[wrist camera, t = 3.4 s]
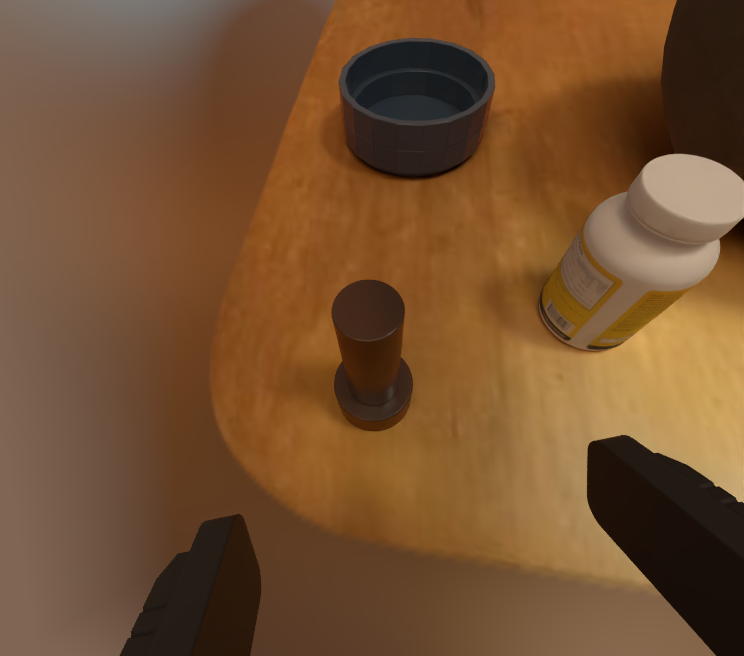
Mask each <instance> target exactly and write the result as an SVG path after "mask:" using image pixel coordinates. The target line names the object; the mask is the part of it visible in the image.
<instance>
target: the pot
mask: <svg viewBox="0 0 744 656" xmlns="http://www.w3.org/2000/svg"><path fill="white" fill-rule="evenodd" d="M661 86H662V94H663V102H664V110H665V117H666V121H667V126H668V130H669V135H670V139H671V144H672V147H673V150H674V153H675V154H687V155H694V156H699V157H703V158H707V159H710V160H712V161H715V162H717V163H720V164H721V165H723V166H725V167H727V168H728V169H730V170H732V171H733V172H734V173H735V174H737V175H738V176H739V177H740V178H741V179H742V180H743V181H744V0H677V2H676V5H675V8H674V11H673V15H672V19H671V22H670V26H669V30H668V34H667V38H666V41H665V45H664V55H663V66H662V76H661Z"/></svg>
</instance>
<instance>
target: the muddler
mask: <svg viewBox="0 0 744 656" xmlns="http://www.w3.org/2000/svg"><path fill="white" fill-rule="evenodd" d="M404 314H405V307H404V303H403V300H402V298H401V296H400V295H399V293H398V292H397V291H396V290H395V289H394V288H393V287H391V286H390V285H388V284H386V283H384V282H381V281H376V280H361V281H357V282H354V283H352V284H350V285H348V286H346V287H345V288H344V289H342V290H341V291H340V292H339V294H338V295H337V296H336V298H335V300H334V302H333V305H332V319H333V323H334V327H335V331H336V335H337V339H338V343H339V348H340V352H341V356H342V360H343V362H342V363H341V364H340V366H339V368H338V370H337V372H336V375H335V380H334V390H335V395H336V397H337V400H338V403H339V406H340V409H341V411H342V413H343V415H344V416H345V417H346V419H347V420H348V421H349V422H350V423H352V424H353V425H355V426H356V427H358V428H361V429H363V430H368V431H381V430H385V429H388V428H390V427H392V426H394V425H395V424H397V423H398V422H399V421H400V420H401V419H402V418H403V417H404V415H405V414H406V412H407V410H408V407H409V404H410V399H411V394H412V388H413V379H412V375H411V372H410V369H409V367H408V365H407V364H406V362H405V361H404V360H403V359H402V358H401V346H402V336H403V325H404Z"/></svg>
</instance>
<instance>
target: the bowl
mask: <svg viewBox="0 0 744 656" xmlns="http://www.w3.org/2000/svg"><path fill="white" fill-rule="evenodd" d="M494 90H495V78H494V73H493V71H492V69H491V68H490V66H489V65H488V63H487V62H486V61H485V60H484V59H483V58H481V57H480V56H479V55H477V54H476V53H475V52H473V51H472V50H470V49H467V48H465V47H462V46H460V45H457V44H455V43H451V42H446V41H441V40H436V39H427V38H406V39H398V40H391V41H386V42H383V43H380V44H377V45H374V46H371V47H368V48H366V49H364V50H363V51H361V52H359V53H358V54H356V55H354V56H353V57H352V58H351V59H350V60H349V61H348V63H347V64H346V65H345V66H344V67H343V68H342V72H341V75H340V78H339V91H340V101H341V111H342V120H343V130H344V135H345V139H346V143H347V145H348V146H349V147H350V148H351V150H352V151H353V152H354V153H355V155H356V156H357V157H359V158H360V159H362V160H363V161H365V162H366V163H367V164H369V165H370V166H372V167H374V168H376V169H378V170H380V171H383V172H386V173H389V174H393V175H399V176H409V177H417V176H428V175H433V174H437V173H441V172H444V171H446V170H448V169H451V168H453V167H454V166H456V165H458V164H460V163H461V162H463V161H464V160H466V159H467V158H468V157H469V156H470V155H472V154H473V153H474V152H475V151H476V149H477V148H478V146H479V144H480V142H481V140H482V138H483V134H484V130H485V126H486V122H487V118H488V114H489V110H490V106H491V102H492V98H493V94H494Z"/></svg>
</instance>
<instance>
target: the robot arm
mask: <svg viewBox="0 0 744 656" xmlns="http://www.w3.org/2000/svg"><path fill="white" fill-rule="evenodd" d="M587 499H588V504H589V507H590V509H591V512H592V514H593V516H594V518H595V519H596V521H597V522H598V524H599V525H600V526H601V527H602V528H603V530H604V531H605V532H606V533H607V534H608V535H609V536H610V537H611V539H612V540H613V541H614V542H615V543H616V544H617V545H618V546H619V547H620V549H621V550H622V551H623V552H624V553H625V554H626V555H627V556H628V558H629V559H630V560H631V561H632V562H633V563H634V564H635V565H636V566H637V568H638V569H639V570H640V571H641V572H642V573H643V574H644V575H645V577H646V578H647V579H648V580H649V581H650V582H651V583H652V584H653V585H654V587H655V588H656V589H657V590H658V591H659V592H660V593H661V594H662V596H663V597H664V598H665V599H666V600H667V601H668V602H669V603H670V604H671V606H672V607H673V608H674V609H675V610H676V611H677V612H678V613H679V615H680V616H681V617H682V618H683V619H684V620H685V621H686V622H687V623H688V625H689V626H690V627H691V628H692V629H693V630H694V631H695V632H696V634H697V635H698V636H699V637H700V638H701V639H702V640H703V641H704V643H705V644H706V645H707V646H708V647H709V648H710V649H711V650H712V651H713V653H714V654H715V655H716V656H744V503H743V502H738V501H737V500H736V498H735V497H734V496H732V495H731V494H729V493H728V492H727V491H725V490H724V489H722V488H721V487H719V486H718V487H716V486H715V485H714V483H713V482H712V481H710V480H709V479H707V478H706V477H704V476H703V475H701V474H700V473H698V472H697V471H696V470H694V469H693V468H691V467H690V466H688V465H686V464H684V463H681V462H679V461H676V460H674V459H672V458H669V457H667V456H665V455H662V454H660V453H653V452H651V451H650V450H649V449H647V448H646V447H644V446H643V445H641V444H640V443H639V442H637V441H636V440H634V439H633V438H631V437H630V436H627V435H621V436H616V437H611V438H606V439H601V440H597V441H592V442H591V443H590V444H589V446H588V457H587ZM260 595H261V577H260V570H259V565H258V562H257V559H256V555H255V552H254V549H253V546H252V543H251V540H250V536H249V533H248V530H247V527H246V524H245V521H244V518H243V517H242V515H240V514H237V515H232V516H227V517H222V518H218V519H213V520H209V521H205V522H203V523H202V525H201V526H200V528H199V530H198V533H197V535H196V537H195V540H194V542H193V545H192V547H191V550H190V551H189V552H184V553H180V554H178V555H176V557H175V558H174V559H173V560H172V561H171V563H170V564H169V565H168V566H167V567H166V569H165V570H164V571H163V572H162V573H161V574H160V576H159V577H158V578H157V579H156V581H155V583H154V585H153V587H152V590H151V592H150V594H149V596H148V598H147V600H146V602H145V604H144V606H143V612H142V613H140V614H139V617H138V619H137V621H136V623H135V625H134V627H133V629H132V631H131V638H128V640H127V641H126V644H125V646H124V648H123V650H122V652H121V654H120V656H250V653H251V647H252V641H253V636H254V631H255V625H256V620H257V614H258V609H259V603H260Z"/></svg>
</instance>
